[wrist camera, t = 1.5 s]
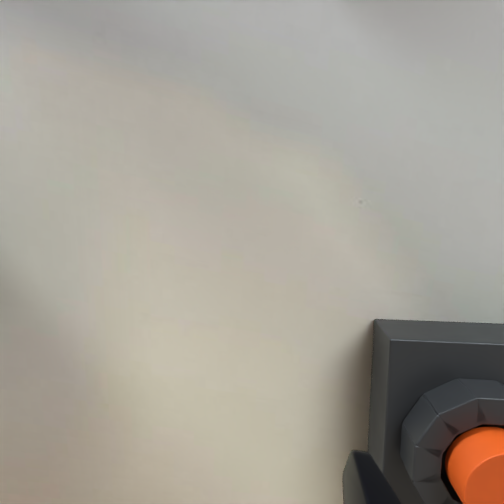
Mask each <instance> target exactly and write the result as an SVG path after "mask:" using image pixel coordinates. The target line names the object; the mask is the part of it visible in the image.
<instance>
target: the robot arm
mask: <svg viewBox="0 0 504 504" xmlns="http://www.w3.org/2000/svg"><path fill="white" fill-rule="evenodd" d="M343 500H344V504H402V503H401V501H400V499H399V498H398V496H397V495H396V493H395V492H394V490H393V489H392V487H391V485H390V484H389V482H388V481H387V479H386V478H385V476H384V475H383V473H382V471H381V470H380V468H379V467H378V465H377V464H376V462H375V461H374V459H373V457H372V456H371V455H370V454H369V453H368V452H364V451H358V450H352V451H351V452H350V454H349V457H348V460H347V463H346V465H345V468H344V471H343Z"/></svg>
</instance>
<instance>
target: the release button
mask: <svg viewBox="0 0 504 504" xmlns="http://www.w3.org/2000/svg"><path fill="white" fill-rule="evenodd" d="M445 470H446V474H447V477H448V479H449V481H450V483H451V485H452V486H453V488H454V490H455V491H456V493H457V495H458V496H459V498H460V500H461V501H462V503H463V504H504V429H502V428H498V427H491V426H485V427H478V428H474V429H471V430H468V431H466V432H464V433H463V434H461V435H460V436H459V437H457V438H456V439H455V440H454V442H453V443H452V444H451V446H450V447H449V449H448V451H447V454H446V458H445Z"/></svg>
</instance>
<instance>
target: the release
mask: <svg viewBox="0 0 504 504" xmlns="http://www.w3.org/2000/svg"><path fill="white" fill-rule="evenodd" d="M485 426H491V427H498V428H502V429H504V324H492V323H465V322H438V321H412V320H385V319H375V320H374V334H373V354H372V373H371V393H370V413H369V432H368V453H369V454H370V455H371V456H372V457H373V459H374V461H375V462H376V464H377V465H378V467H379V468H380V470H381V471H382V473H383V475H384V476H385V478H386V479H387V481H388V482H389V484H390V485H391V487H392V489H393V490H394V492H395V493H396V495H397V496H398V498H399V499H400V501H401V503H402V504H463V503H462V501H461V500H460V498H459V496H458V495H457V493H456V491H455V490H454V488H453V486H452V485H451V483H450V481H449V479H448V477H447V474H446V470H445V458H446V454H447V451H448V449H449V447H450V446H451V444H452V443H453V442H454V440H455V439H456V438H457V437H459V436H460V435H461V434H463V433H464V432H466V431H468V430H471V429H474V428H478V427H485Z"/></svg>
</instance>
